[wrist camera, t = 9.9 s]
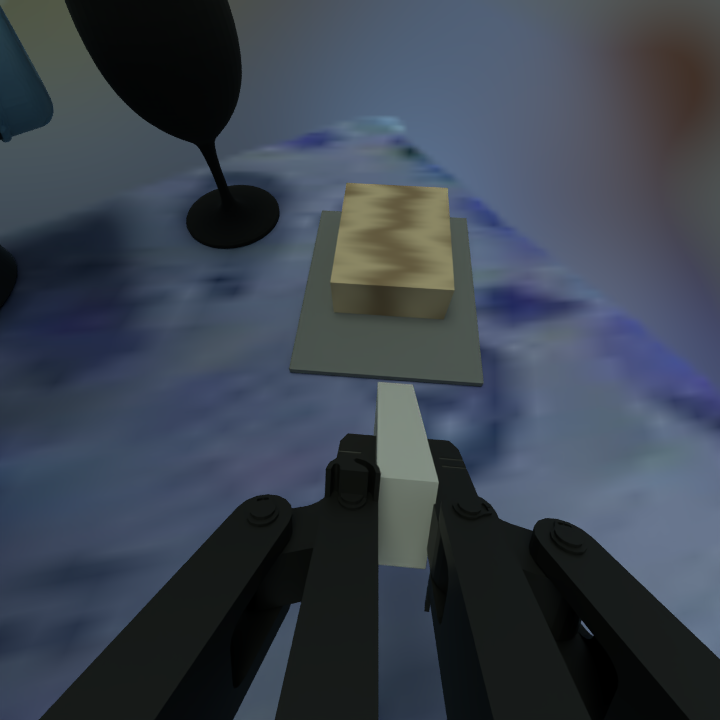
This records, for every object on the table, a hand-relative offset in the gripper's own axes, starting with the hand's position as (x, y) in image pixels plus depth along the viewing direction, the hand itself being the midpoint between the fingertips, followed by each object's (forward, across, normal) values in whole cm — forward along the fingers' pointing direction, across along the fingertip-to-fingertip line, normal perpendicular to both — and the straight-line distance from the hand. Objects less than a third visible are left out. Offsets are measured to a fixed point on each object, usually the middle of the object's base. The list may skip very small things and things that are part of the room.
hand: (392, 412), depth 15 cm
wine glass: (+27, -18, +10) cm, 34 cm away
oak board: (+15, 0, +3) cm, 16 cm away
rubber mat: (+20, 0, +4) cm, 20 cm away
